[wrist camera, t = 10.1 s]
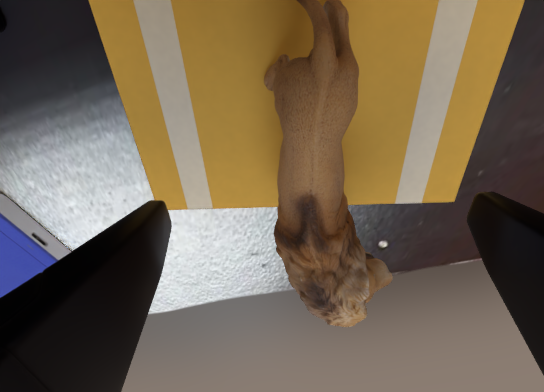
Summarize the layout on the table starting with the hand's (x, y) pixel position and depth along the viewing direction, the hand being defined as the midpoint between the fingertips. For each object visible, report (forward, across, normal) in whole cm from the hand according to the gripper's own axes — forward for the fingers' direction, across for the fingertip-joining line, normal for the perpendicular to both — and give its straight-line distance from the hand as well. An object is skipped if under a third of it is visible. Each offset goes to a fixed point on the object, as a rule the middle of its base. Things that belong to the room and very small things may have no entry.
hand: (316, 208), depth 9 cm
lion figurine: (+10, -1, +2) cm, 10 cm away
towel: (+10, 0, 0) cm, 10 cm away
